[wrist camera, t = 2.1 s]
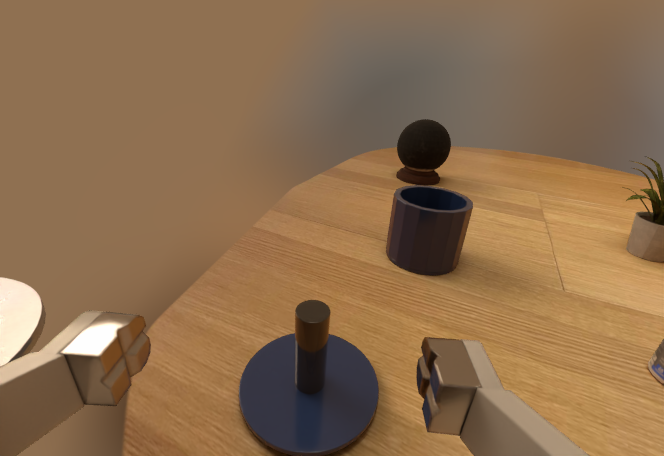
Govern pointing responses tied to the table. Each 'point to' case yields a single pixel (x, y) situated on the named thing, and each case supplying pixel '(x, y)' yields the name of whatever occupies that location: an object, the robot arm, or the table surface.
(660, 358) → the pill bottle
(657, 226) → the house plant
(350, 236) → the table surface
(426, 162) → the ball on stand
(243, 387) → the lid
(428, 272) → the pot
